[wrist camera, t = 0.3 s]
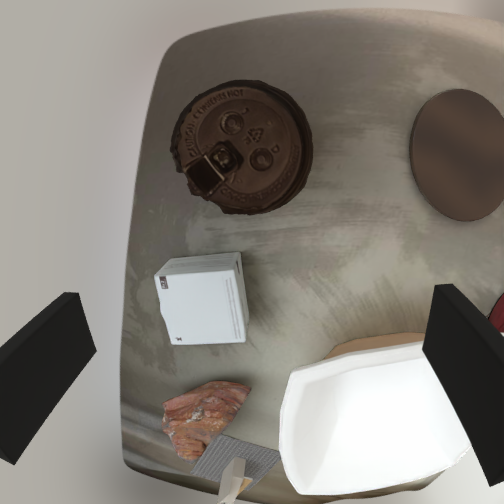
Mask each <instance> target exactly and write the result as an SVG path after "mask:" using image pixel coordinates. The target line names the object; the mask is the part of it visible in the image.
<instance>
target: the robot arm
mask: <svg viewBox="0 0 504 504" xmlns="http://www.w3.org/2000/svg"><path fill="white" fill-rule="evenodd" d="M96 351H97V350H96V347H95V345H94V342H93V339H92V336H91V333H90V330H89V326H88V323H87V320H86V317H85V314H84V310H83V307H82V303H81V300H80V296H79V293H71V292H64V293H63V294H61V295H60V296H59V297H58V298H57V299H55V300H54V301H53V302H52V303H51V304H50V305H48V306H47V307H46V308H45V309H43V310H42V311H41V312H40V313H39V314H38V315H37V316H35V317H34V318H33V319H32V320H31V321H29V322H28V323H27V324H26V325H25V326H24V327H23V328H22V329H20V330H19V331H18V332H17V333H16V334H15V335H14V336H12V337H11V338H10V339H9V340H8V341H7V342H6V343H5V344H4V345H2V346H1V347H0V458H1V459H3V460H5V461H7V462H9V463H11V464H13V465H15V464H16V462H17V461H18V459H19V458H20V456H21V455H22V453H23V452H24V450H25V449H26V447H27V446H28V444H29V443H30V441H31V440H32V438H33V437H34V436H35V434H36V433H37V431H38V430H39V429H40V427H41V426H42V424H43V423H44V421H45V420H46V419H47V417H48V416H49V414H50V413H51V412H52V410H53V409H54V407H55V406H56V405H57V403H58V402H59V401H60V399H61V398H62V397H63V395H64V394H65V392H66V391H67V390H68V388H69V387H70V386H71V384H72V383H73V382H74V380H75V379H76V378H77V376H78V375H79V374H80V372H81V371H82V370H83V369H84V367H85V366H86V365H87V363H88V362H89V361H90V359H91V358H92V357H93V355H94V354H95V353H96ZM422 351H423V353H424V354H425V356H426V358H427V360H428V362H429V363H430V365H431V367H432V369H433V370H434V372H435V374H436V376H437V378H438V380H439V381H440V383H441V385H442V387H443V389H444V391H445V393H446V395H447V396H448V398H449V400H450V402H451V404H452V406H453V408H454V410H455V412H456V414H457V416H458V418H459V420H460V422H461V424H462V426H463V428H464V430H465V432H466V434H467V437H468V439H469V441H470V443H471V445H472V447H473V449H474V452H475V454H476V456H477V458H478V460H479V463H480V465H481V467H482V469H483V472H484V474H485V476H486V479H487V481H488V484H489V486H490V487H491V486H494V485H496V484H498V483H500V482H503V481H504V336H503V335H502V334H501V333H500V332H499V331H498V330H497V329H496V327H495V326H494V325H493V324H492V323H491V322H490V321H489V320H488V319H487V318H486V317H485V316H484V315H483V314H482V313H481V312H480V311H479V310H478V309H477V307H476V306H475V305H474V304H473V303H472V302H471V301H470V300H469V299H468V298H467V297H466V296H465V295H464V294H463V293H462V292H461V291H460V290H459V289H457V288H456V287H455V286H454V285H453V284H441V285H435V287H434V293H433V299H432V304H431V309H430V315H429V319H428V324H427V329H426V333H425V338H424V342H423V346H422Z"/></svg>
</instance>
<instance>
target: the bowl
mask: <svg viewBox="0 0 504 504" xmlns="http://www.w3.org/2000/svg"><path fill="white" fill-rule="evenodd" d="M501 334H502V335H503V336H504V333H501ZM424 338H425V333H415V332H402V333H395V334H388V335H381V336H374V337H367V338H360V339H355V340H352V341H349V342H346V343H343V344H340V345H337V346H335V348H334V349H333V350H332V351H331V352H330V353H329V354H328V355H327V356H326V357H325V358H324V359H323V360H322V361H319V362H316V363H312V364H309V365H305V366H302V367H298V368H295V369H293V370H292V371H291V372H290V376H289V380H288V384H287V388H286V391H285V395H284V399H283V402H282V406H281V410H280V431H279V452H280V455H281V458H282V462H283V465H284V469H285V472H286V475H287V478H288V479H289V481H290V482H291V484H292V485H293V486H294V488H295V489H296V491H297V492H298V493H300V494H304V495H339V494H347V493H354V492H361V491H368V490H373V489H379V488H384V487H389V486H394V485H398V484H402V483H406V482H410V481H414V480H418V479H422V478H425V477H428V476H430V475H433V474H435V473H438V472H440V471H443V470H445V469H447V468H450V467H452V466H454V465H455V464H456V463H457V462H458V461H459V460H460V459H461V458H462V456H463V455H464V454H465V453H466V451H467V450H468V449H469V448H470V447H471V443H470V441H469V439H468V437H467V434H466V432H465V430H464V428H463V426H462V424H461V422H460V420H459V418H458V416H457V414H456V412H455V410H454V408H453V406H452V404H451V402H450V400H449V398H448V396H447V395H446V393H445V391H444V389H443V387H442V385H441V383H440V381H439V380H438V378H437V376H436V374H435V372H434V370H433V369H432V367H431V365H430V363H429V362H428V360H427V358H426V356H425V354H424V353H423V351H422V346H423V342H424Z"/></svg>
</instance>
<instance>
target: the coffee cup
mask: <svg viewBox="0 0 504 504" xmlns="http://www.w3.org/2000/svg"><path fill="white" fill-rule="evenodd" d="M170 152H171V153H172V155H173V160H174V162H175V165H176V171H177V172H179V173H184V174H185V175H186V177H187V179H188V184H187V185H188V187H189V189H190V192H191V194H192V195H195V196H201V197H202V198H203V199H204V200H206V201H209V200H210V201H212V202H213V203H215V204H217V205H218V206H219V207H220V208H221V210H222V212H223V213H224V214H231V215H232V214H248V215H255V214H263V213H267V212H270V211H272V210H275V209H277V208H280V207H281V206H283V205H285V204H287V203H288V202H289V201H290V200H292V199H293V198H294V197H295V196H296V195H297V194H298V193H299V192H300V191H301V190H302V189H303V188H304V186H305V184H306V182H307V178H308V175H309V173H310V170H311V166H312V162H313V143H312V133H311V129H310V126H309V124H308V121H307V119H306V116H305V113H304V112H303V110H302V109H301V108H300V107H299V105H298V104H297V103H296V101H295V100H294V99H293V98H292V97H291V96H290V95H289V94H287V93H286V92H285V91H282V90H280V89H278V88H275V87H273V86H270V85H268V84H267V83H264V82H262V81H260V80H233V81H229V82H226V83H222V84H220V85H218V86H216V87H214V88H211V89H209V90H207V91H206V92H204V93H202V94H199V95H198V96H196V97H195V98H194V99H193V100H192V101H191V102H190V103H189V104H188V105H187V106H186V107H185V108H184V110H183V111H182V112H181V114H180V116H179V118H178V120H177V122H176V125H175V127H174V130H173V134H172V138H171V147H170Z"/></svg>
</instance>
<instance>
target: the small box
mask: <svg viewBox="0 0 504 504" xmlns="http://www.w3.org/2000/svg"><path fill="white" fill-rule="evenodd" d="M154 279H155V283H156V288H157V292H158V296H159V300H160V309H161V314H162V316H163V318H164V319H165V322H166V326H167V330H168V333H169V337H170V340H171V344H172V345H190V344H215V343H237V342H246V336H247V330H248V325H249V311H248V305H247V298H246V291H245V284H244V278H243V270H242V262H241V253H240V252H232V253H222V254H212V255H202V256H192V257H182V258H171V259H169V260H168V261H167V263H166V264H165V265H164V266H163V267H162V268H161V269H160V270H159V271H158V272H157V273H156V274H155V276H154Z"/></svg>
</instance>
